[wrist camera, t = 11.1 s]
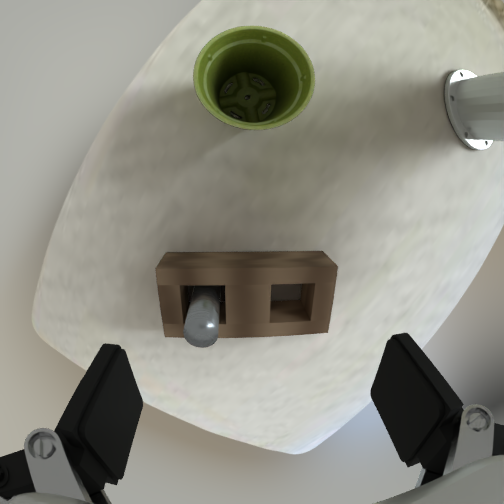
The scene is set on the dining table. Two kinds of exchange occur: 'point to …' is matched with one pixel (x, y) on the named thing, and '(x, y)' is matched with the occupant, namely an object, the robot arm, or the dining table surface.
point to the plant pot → (254, 66)
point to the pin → (203, 316)
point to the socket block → (250, 291)
